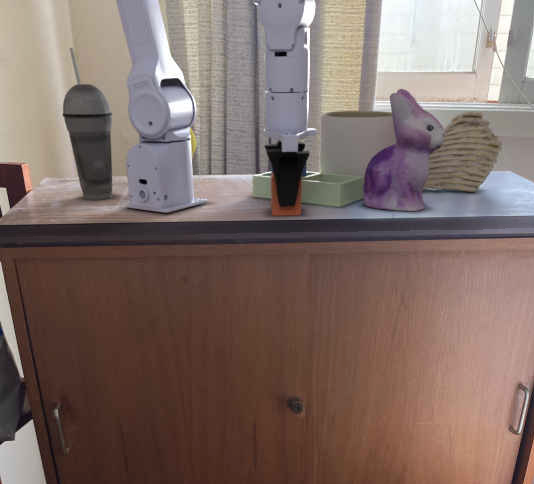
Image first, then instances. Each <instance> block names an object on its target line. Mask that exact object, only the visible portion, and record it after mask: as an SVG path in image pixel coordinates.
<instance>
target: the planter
mask: <svg viewBox="0 0 534 484" xmlns="http://www.w3.org/2000/svg"><path fill="white" fill-rule="evenodd" d="M319 136H320V137H319V139H320V140H319V165H320V171H321V172H320V173H330V174H341V175H351V176H360V177H361V176H362V177H365V172H366V168H367V166H368V164H369V162H370V160H371V159H372V157H373V156H374V155H376V154H377V153H378V152H380V151H381V150H383V149H385V148H387V147H389V146H391V145H394V144H395V143H396V138H395V131H394V124H393V117H392V111H382V110H381V111H378V110H340V111H339V110H338V111H327V112H323V113H320V133H319Z"/></svg>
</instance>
